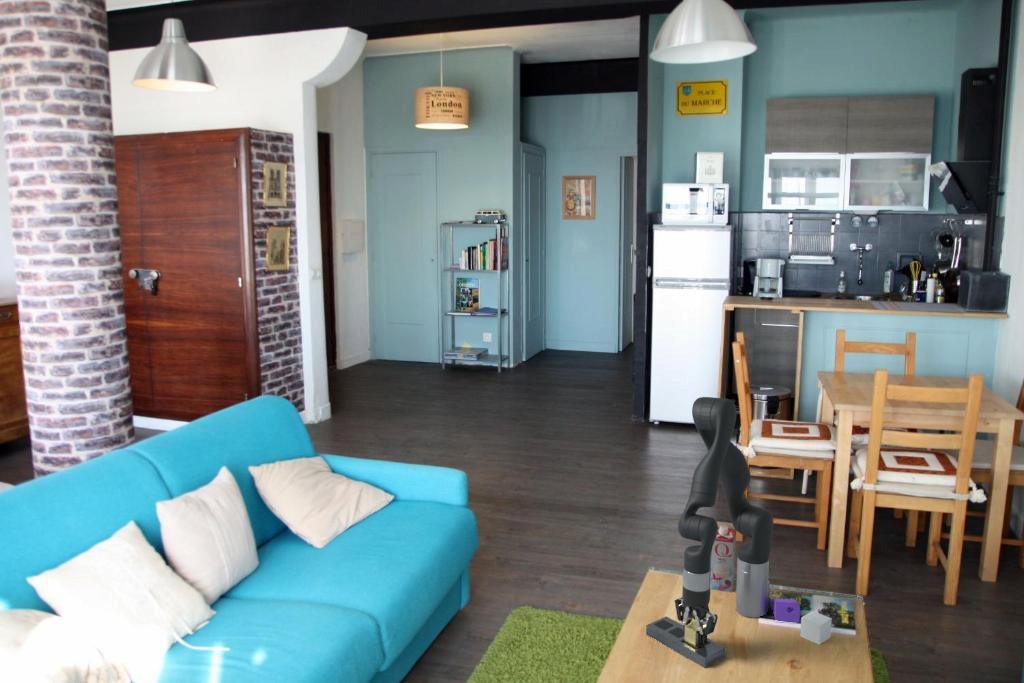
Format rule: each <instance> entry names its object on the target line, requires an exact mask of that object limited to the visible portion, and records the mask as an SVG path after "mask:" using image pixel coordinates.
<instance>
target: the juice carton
mask: <svg viewBox="0 0 1024 683" xmlns="http://www.w3.org/2000/svg"><path fill="white" fill-rule="evenodd" d="M715 521H716V520H715ZM716 522H717V525H718V533H717V536H716V539H715V541H714V544H713V547H712V551H711V558H710V576H711V584H710V590H713V591H714V590H715V591H722V592H726V591H727V593H733V590H732V589H734V586H735V576H736V575H735V573H736V572H735V570H736V569H735V567H736V541H737V540H736V538H737V534H736V533H737V531H736V530H735V528H734V526H733V524H732V522H724V521H716ZM733 585H734V586H733ZM728 591H729V592H728Z"/></svg>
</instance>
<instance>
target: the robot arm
mask: <svg viewBox="0 0 1024 683" xmlns="http://www.w3.org/2000/svg"><path fill="white" fill-rule="evenodd" d="M691 412H692V413H691V416H692V420H693V423H694V426H695V427H696V430H697V432H698V433H699V436H700V437H701V440H702V441H703V443H704V445H705V447H706V450H707V452H706V454H705V456H704V457H702V459H701V460H700V461H699V463H698V464H697V466H696V468H695V469H694V472H693V475H692V479H691V486H690V492H689V497H688V500H687V502H686V505H685V508H684V510H683V512H682V514H681V516H680V518H679V520H678V524H677V530H678V533H679V535H680V536H681V538H683V539H685V540H690V541H697V542H700V543H701V544H700V545H699V544H698V545H690V546H687V547H686V548H685V550H684V555H683V556H684V557H683V573H682V594H681V595H682V596H681V597H678V598H677V599H675V600H674V604H675V611H676V617H677V620H678V621H679V622H681V624H682V625H684V627H683V629H684V630H683V633H684V637H685V626H686V625H688V624H690V623H692V622H693V620H694V621H695V622H696V625H697V626H698V628H699V632H700V633H699V645H700V646H704V645H705V644H707V638H708V635H710V634H712V633H714V631H715V630H716V629H715V628H716V626H717V622H718V618H719V616H718V614H716V613H714V614H713V613H712V612H711V611H710V608H709V604H710V600H711V558H712V547H713V544H714V541H715V539H716V536H717V533H718V525H717V522H718V521H717V522H716V519H715V518H713V517H711V516H709V515H708V516H707V515H702V514H696V513H697V512H698V510H700V509H701V508H713V507H714V506H715V504H716V500H717V493H718V487H719V483H720V485H721V488H722V491H723V494H724V496H725V500H726V503H727V508H728V512H729V515H730V520H731V523H732V524H733V526H734V528H735V530H736V533H739V534H741V535H743V536H746V537H748V538H751V540H752V541H751V543H743V544H742V545H739V546H738V548H737V558H736V559H737V560H736V588H735V591H736V592H735V594H736V596H735V611H736V613H738V614H739V615H741V616H743V617H747V618H750V619H751V618H753V619H755V618H757V619H758V618H761V617H760V616H763V615H765V614H766V615H767V613H768V611H769V610H768V609H769V608H770V607H769V606H770V587H771V586H770V585H771V581H770V580H769V572H770V571H769V566H770V554H771V550H772V546H773V535H774V516H773V514H772V512H770V510H767V509H764V508H761V507H758V506H755V505H752V504H751V503H750V502H749V501H748V498H747V496H746V493H745V492H746V490H747V489H748V487H749V486H750V483H751V478H752V476H751V474H752V473H751V470H750V467H749V465H748V462H747V459H746V457H745V454H744V453H743V452H742V450H740V449H739V448H738V447H737V446H736V445H735V444H734V443H733V442H732V441H731V439H732V436H733V433H734V430H735V425H736V421H737V415H738V414H737V407H736V404H735V402H734V401H733V400H731V399H728V398H722V397H721V398H720V397H710V396H709V397H708V396H701V397H698V398H696V399H695V400H694V401H693V404H692V408H691ZM766 615H765V616H766ZM763 617H764V616H763ZM703 626H704V629H703Z"/></svg>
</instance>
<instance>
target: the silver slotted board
mask: <svg viewBox="0 0 1024 683" xmlns="http://www.w3.org/2000/svg"><path fill="white" fill-rule="evenodd" d="M683 627H684V625H683V624H682V623H680V622H678V621H677V620H674V619H672V618H671V617H668V616H667V615H666V616H664V617H662V618H659V619H657V620H655V621H652V622H650V623H648V624H646V626H645V635H646V634H647V635H648V636H647V635H646V636H647V637H649V636H650V637H649V638H651V637H652V638H651V639H653V638H654V639H656V640H657V641H656V640H655V641H656V642H658V641H659V642H658V643H660V642H661V643H662V644H661V643H660V644H661V645H663V644H664V645H663V646H665V645H666V646H665V647H666V648H669V649H670V648H671V649H670V650H672V649H673V650H672V651H674V652H675V653H678V654H680V655H681V656H683V657H684V658H686V659H688V660H689V661H692V662H693V663H695V664H697V665H699V666H701V667H702V668H704V669H706V668H708V667H710V666H711V665H714V664H715V663H717V662H719V661H721V660H723V659H725V658H726V647H725V646H723V645H721V644H720V643H718V642H716V641H714V640H712V639H710V638H708V637H707V644H705V645H704V646H699V647H698V649H697V648H694V647H692V646H690V645H688V644H686V643H685V642H684V638H685V637H684V633H683V630H684V629H683ZM654 639H653V640H654Z"/></svg>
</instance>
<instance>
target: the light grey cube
mask: <svg viewBox="0 0 1024 683" xmlns="http://www.w3.org/2000/svg"><path fill="white" fill-rule="evenodd" d="M832 620H833V618H832V617H829V616H826V615H824V614H821V613H819V612H817V611H814V610H811V611H810V612H809V613H807V614H805V615H803V616H801V617H800V638H803V639H806V640H808V641H810V642H812V643H814V644H817V645H821V644H823V643H825V642H826V641H827V640H829V639H831V638H830V637H831V636H832V635H831V634H832Z"/></svg>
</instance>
